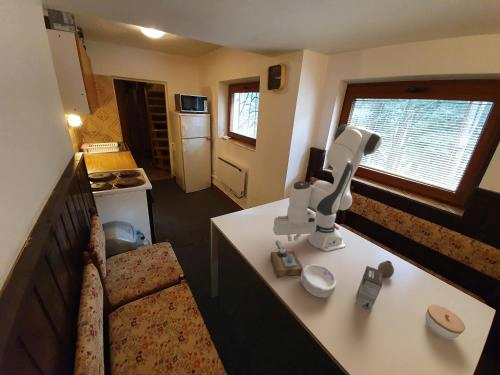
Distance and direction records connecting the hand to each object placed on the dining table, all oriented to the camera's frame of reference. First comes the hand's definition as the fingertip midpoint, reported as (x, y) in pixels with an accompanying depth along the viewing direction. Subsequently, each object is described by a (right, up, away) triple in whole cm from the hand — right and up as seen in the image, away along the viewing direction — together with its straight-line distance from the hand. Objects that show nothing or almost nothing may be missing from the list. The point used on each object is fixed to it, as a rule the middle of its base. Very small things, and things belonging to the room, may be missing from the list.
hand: (292, 240), depth 98 cm
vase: (+50, -21, +8) cm, 54 cm away
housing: (-2, -17, +9) cm, 19 cm away
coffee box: (+31, -26, -7) cm, 41 cm away
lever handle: (-4, -9, +13) cm, 16 cm away
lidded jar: (+55, -32, -17) cm, 65 cm away
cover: (-1, -13, +6) cm, 14 cm away
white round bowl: (+11, -22, -2) cm, 25 cm away
